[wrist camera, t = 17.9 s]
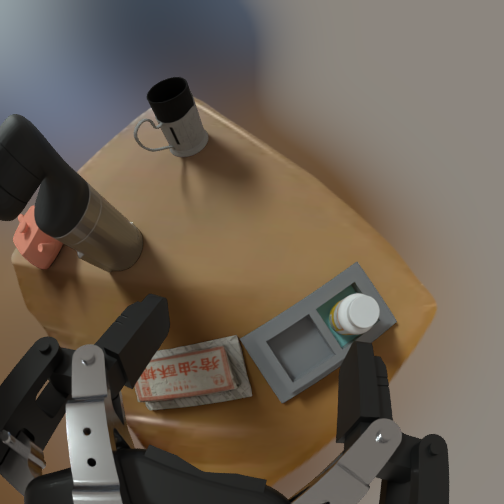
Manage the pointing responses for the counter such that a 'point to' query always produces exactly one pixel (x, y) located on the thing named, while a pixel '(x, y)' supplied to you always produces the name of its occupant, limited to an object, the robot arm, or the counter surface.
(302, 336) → the divided tray
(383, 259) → the counter surface
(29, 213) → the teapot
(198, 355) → the packaged product
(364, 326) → the supplement bottle
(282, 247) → the counter surface
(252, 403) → the counter surface
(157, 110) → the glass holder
